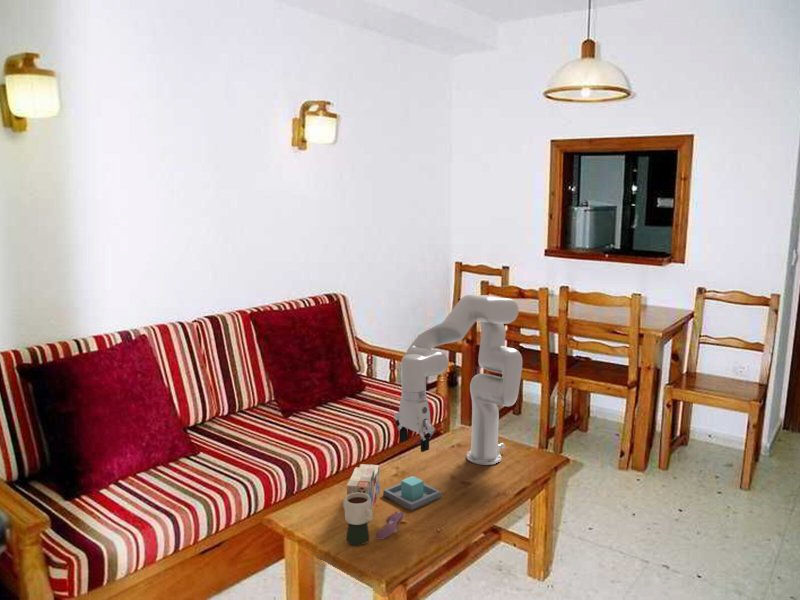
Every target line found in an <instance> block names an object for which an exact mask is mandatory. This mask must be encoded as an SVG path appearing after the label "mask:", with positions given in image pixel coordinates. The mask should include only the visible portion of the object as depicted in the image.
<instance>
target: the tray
mask: <svg viewBox="0 0 800 600" xmlns="http://www.w3.org/2000/svg"><path fill="white" fill-rule="evenodd" d="M382 492H383V495H382V496H383V497H384V498H386V499H388V500H390V501H392V502H394V503H395V504H398V505H399V506H401V507H404V508H405V509H407V510H409V511H411V512H412V511H414V510H416V509H419V508H421V507H423V506H425V505H428V504H431V503H432V502H435V501H436V500H438V499H440V498H442V491H441V490H440V489H437V488H434V487H432V486H431V485H428V484H426V483H424V489H423V496H422V497H420V498H417V499H415V500H413V501H412V500H410V499H408V498H406V497H404V496H402V495H401V482H399V483H397V484H395V485H393V486H390V487H387V488H386V489H383V491H382Z"/></svg>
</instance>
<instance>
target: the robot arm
mask: <svg viewBox="0 0 800 600" xmlns="http://www.w3.org/2000/svg"><path fill="white" fill-rule="evenodd" d="M519 309H520V308H519V305H518V303H517V302H516V300H514V299H512V298H507V297H502V296H501V297H500V296H494V295H489V294H488V295H487V294H485V295H484V294H480V295H477V294H467V295H464V296H462V297H461V298H460V299H459V301H458V302H457V304H456V305H455V306H454V307H453V308H452V310H451V311H450V312H449V313H448V315H447V316H446V318H445V319H444V320H443V321H442V322H441V323H439V324H435V325H433V327H431V328H428V329H426V330H424V331H423V332H421V333H420V334H418V336H416V338H415V339H414V340H413V341H412V343H411V344H410V346H409V347H408V349H407V350H406V352H405V355H404V356H403V357H402V358H401V362H400V363H401V367H400V368H401V369H400V370H401V396H400V400H399V410H398V412H397V413H394V414H393V416H394V419H395V424H396V426H397V430H398V435H399V436H398V437H399V439H398V440H399V441H398V442H399V443H400V444H401V443H405V442H406V441H408V440H409V433H408V431H409V430H410V431H413V432H416V433H418V434H419V436H420V438H421V439H420V452H421V453H424V452H426V451H429V450H430V439H431V438H432V436H434V433H435V431H436V428H435V427H434V425H433V424H432V423H431V411H430V405H429V401H428V399H427V398H428V395H427V382H426V381H427V377H434V376H439V375H442V374H443V373H444V372H445V371H446V370H447V368H448V365H449V359H448V357H447V356H446V355H445V354H444V353H443V352H441V351H438V350H433V349H434V348H436V347H438V346H441V345H445V344H451V343H455V342H456V343H457V342H459V341H461V340H463V339H464V338H465V336H466V335H467V334H468V332H469V331H470V329H472V328H473V326H474V324H475V323H476V322H479V324H480V327H481V336H480V344H479V349H478V350H479V352H478V365H479V367H480V368H481V369H483V370H486V371H490V372H493V373H497V374H501V375H502V376H498V375H494V374H489V373H477V374H476V375H474V376H473V377H472V378H471V381H470V384H469V391H470V398H471V406H472V407H471V408H472V409H471V413H472V414H471V439H470V441H471V443H470V444H471V445H470V446H471V447H470V450H469V451H467V452H466V459H467V460H468V461H469V462H470V463H472V464H475V465H476V464H477V465H481V466H492V465H496V463H497V464H498V462H499V463H500V462H501V461H502V455H501V453H500V450H502V449H504V448H505V447H506V444H505V443H504V442H500V443H498V442H499V417H500V416H499V415H500V413H499V412H500V411H499V409H498V405H499V406H503V407H512V406H513V405H515V403H516V401H517V399H518V397H519V392H520V384H521V378H522V372H523V371H522V370H523V356H522V353H520V351H519V350H518V349H516V348H513V347H509V346H506V345H505V344H506V333H507V331H506V327H505V325H507V324H511V323H513V322H514V321H516V319H517V317H518V316H519ZM504 324H505V325H504Z"/></svg>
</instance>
